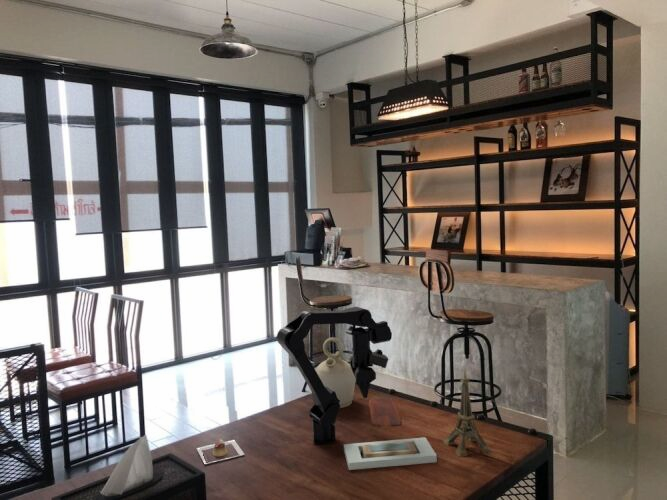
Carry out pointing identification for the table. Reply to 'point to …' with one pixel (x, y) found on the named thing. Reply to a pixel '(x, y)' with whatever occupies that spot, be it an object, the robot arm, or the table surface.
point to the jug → (337, 374)
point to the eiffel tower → (466, 424)
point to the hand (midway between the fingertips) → (363, 392)
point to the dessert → (220, 450)
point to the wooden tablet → (384, 412)
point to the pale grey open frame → (356, 462)
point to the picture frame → (388, 449)
